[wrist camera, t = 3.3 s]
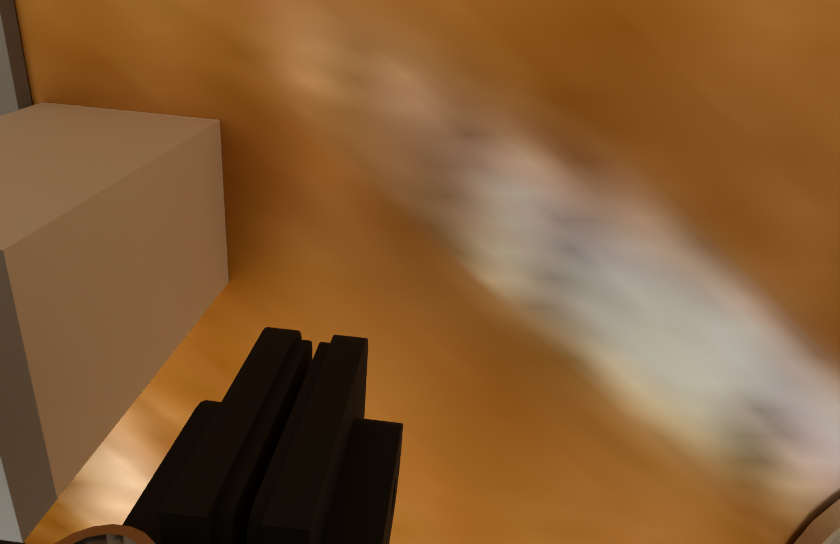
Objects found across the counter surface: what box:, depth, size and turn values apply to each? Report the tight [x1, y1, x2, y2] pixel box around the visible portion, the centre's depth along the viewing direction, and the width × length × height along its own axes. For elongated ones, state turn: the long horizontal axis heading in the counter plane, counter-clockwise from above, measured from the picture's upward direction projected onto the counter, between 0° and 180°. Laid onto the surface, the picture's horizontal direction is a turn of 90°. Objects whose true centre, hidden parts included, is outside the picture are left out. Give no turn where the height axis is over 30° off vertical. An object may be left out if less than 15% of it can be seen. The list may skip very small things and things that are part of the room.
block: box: [0, 102, 229, 543], centre depth 15 cm, size 5×5×10 cm
